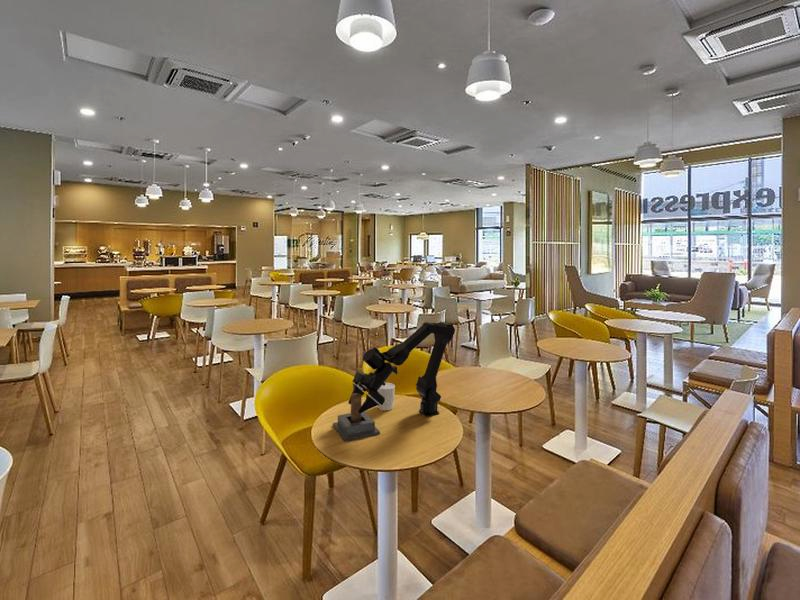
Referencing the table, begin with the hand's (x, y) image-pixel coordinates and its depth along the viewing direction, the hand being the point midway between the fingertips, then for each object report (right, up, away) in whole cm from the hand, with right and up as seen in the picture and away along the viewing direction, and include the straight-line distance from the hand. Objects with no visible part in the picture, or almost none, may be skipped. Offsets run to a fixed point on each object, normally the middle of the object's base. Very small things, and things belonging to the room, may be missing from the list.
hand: (353, 408), depth 157 cm
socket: (+1, -9, +2) cm, 9 cm away
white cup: (+11, -6, +23) cm, 26 cm away
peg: (+1, -8, +2) cm, 8 cm away
